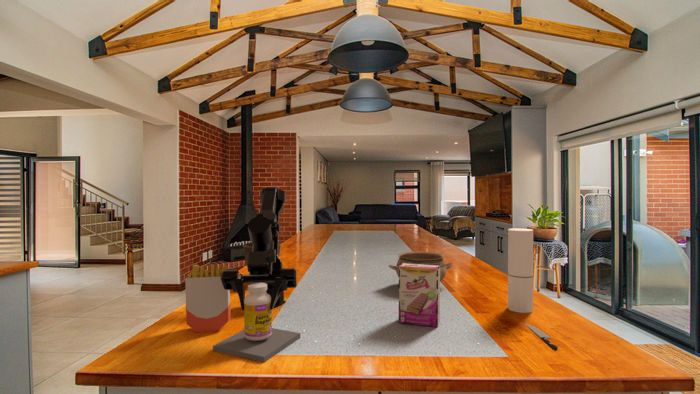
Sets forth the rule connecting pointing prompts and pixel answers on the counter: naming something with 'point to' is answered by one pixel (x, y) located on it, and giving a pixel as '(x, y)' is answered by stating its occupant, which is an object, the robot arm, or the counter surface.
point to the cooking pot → (423, 261)
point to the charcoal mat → (257, 345)
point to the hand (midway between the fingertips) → (257, 309)
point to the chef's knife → (542, 336)
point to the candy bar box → (419, 294)
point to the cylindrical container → (520, 270)
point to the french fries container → (206, 300)
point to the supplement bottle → (257, 312)
